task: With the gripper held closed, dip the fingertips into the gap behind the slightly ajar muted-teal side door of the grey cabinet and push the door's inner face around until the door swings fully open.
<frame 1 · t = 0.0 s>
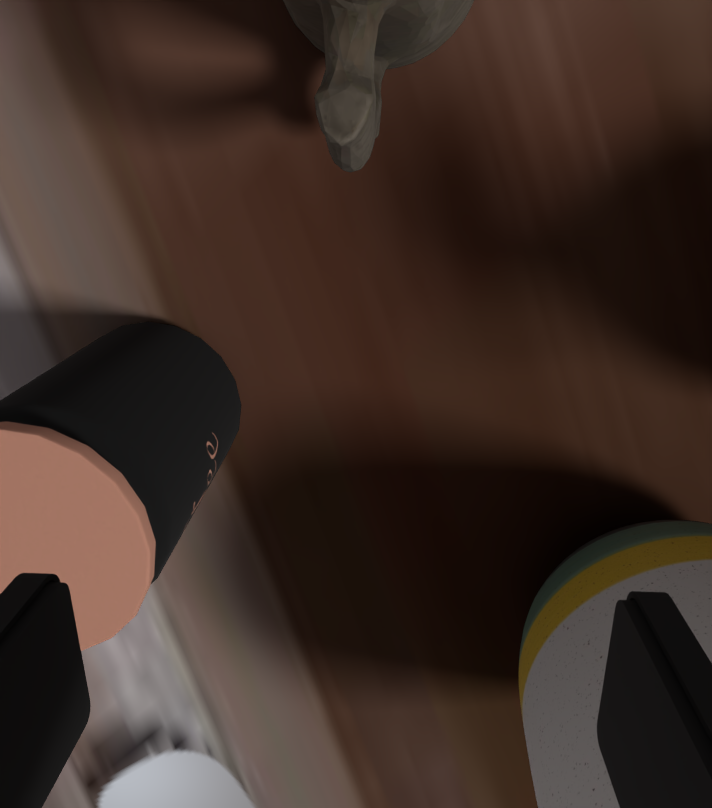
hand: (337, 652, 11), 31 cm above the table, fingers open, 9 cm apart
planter: (633, 590, 47), on the table
coffee jar: (165, 396, 44), on the table
beer stein: (382, 8, 36), on the table
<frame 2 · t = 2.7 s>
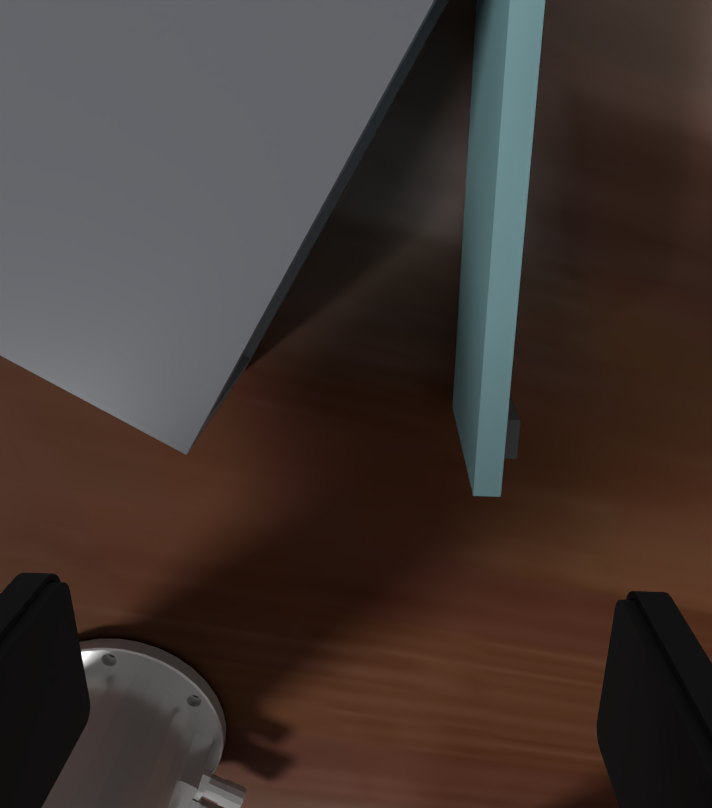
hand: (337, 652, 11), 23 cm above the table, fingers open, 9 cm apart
side door: (498, 215, 26), point 5 cm above the table, hinge at 30.0°
grey cabinet: (185, 94, 29), on the table
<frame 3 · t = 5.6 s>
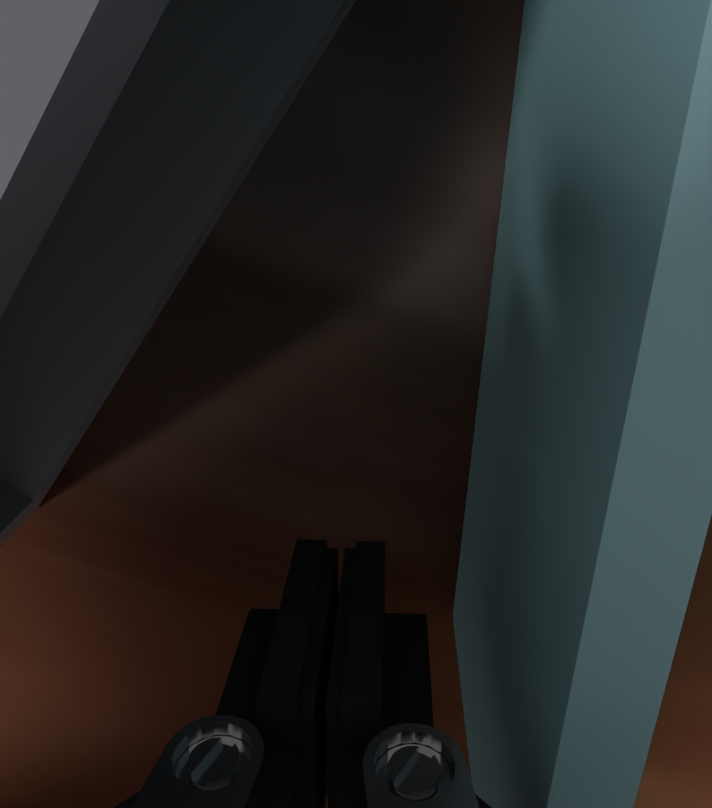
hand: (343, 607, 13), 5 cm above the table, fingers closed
side door: (588, 307, 10), point 5 cm above the table, hinge at 33.5°, touching gripper
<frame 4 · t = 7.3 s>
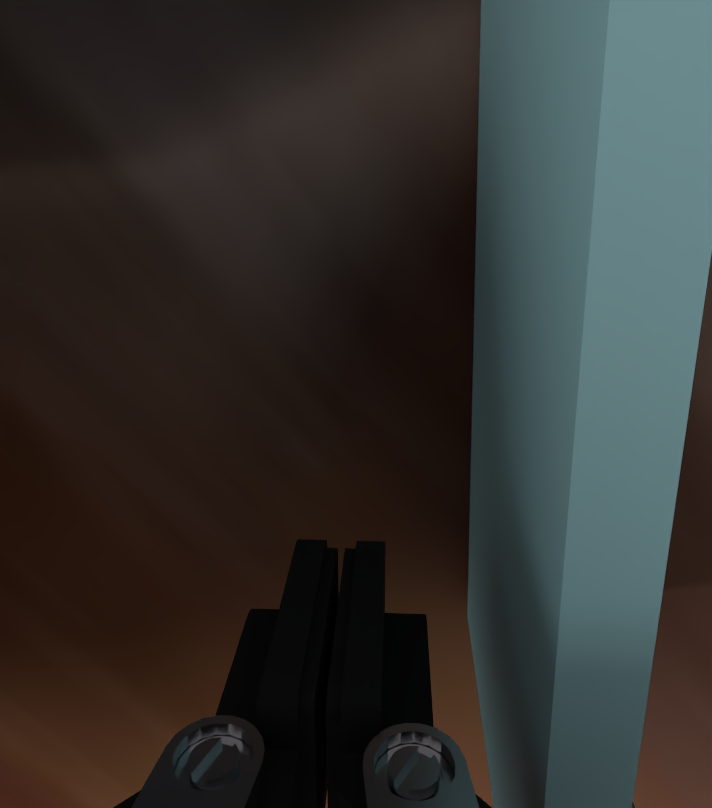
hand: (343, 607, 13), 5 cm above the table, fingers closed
side door: (561, 298, 10), point 5 cm above the table, hinge at 68.7°, touching gripper
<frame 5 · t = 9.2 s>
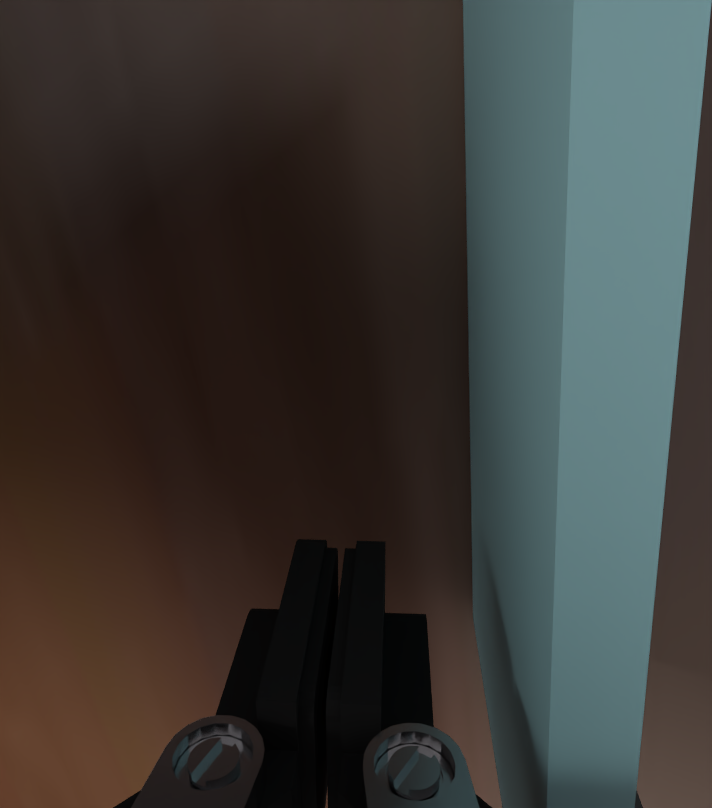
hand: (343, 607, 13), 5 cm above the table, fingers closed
side door: (550, 295, 10), point 5 cm above the table, hinge at 99.2°, touching gripper
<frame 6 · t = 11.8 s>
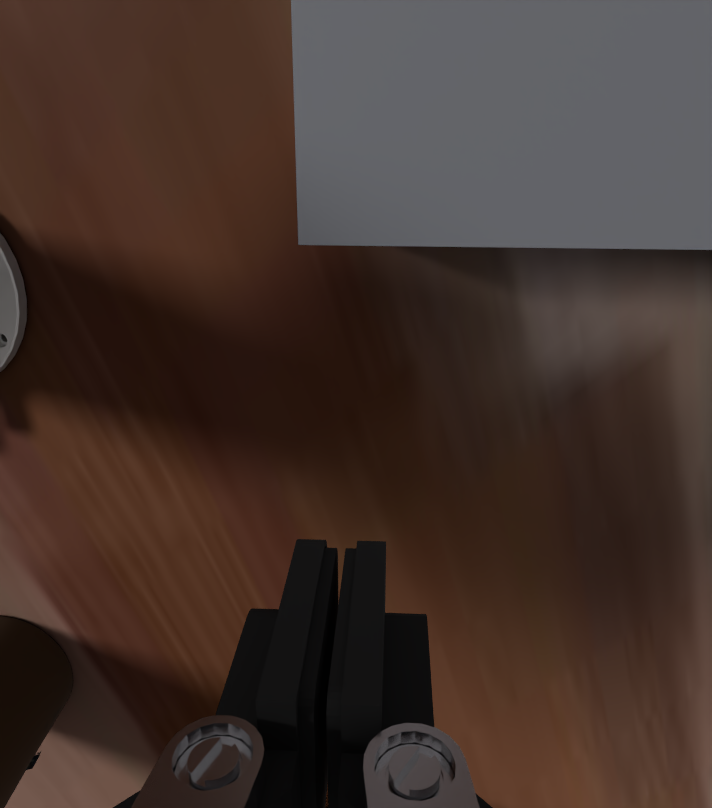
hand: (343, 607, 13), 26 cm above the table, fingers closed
grey cabinet: (535, 50, 32), on the table
olive oil: (13, 665, 50), on the table
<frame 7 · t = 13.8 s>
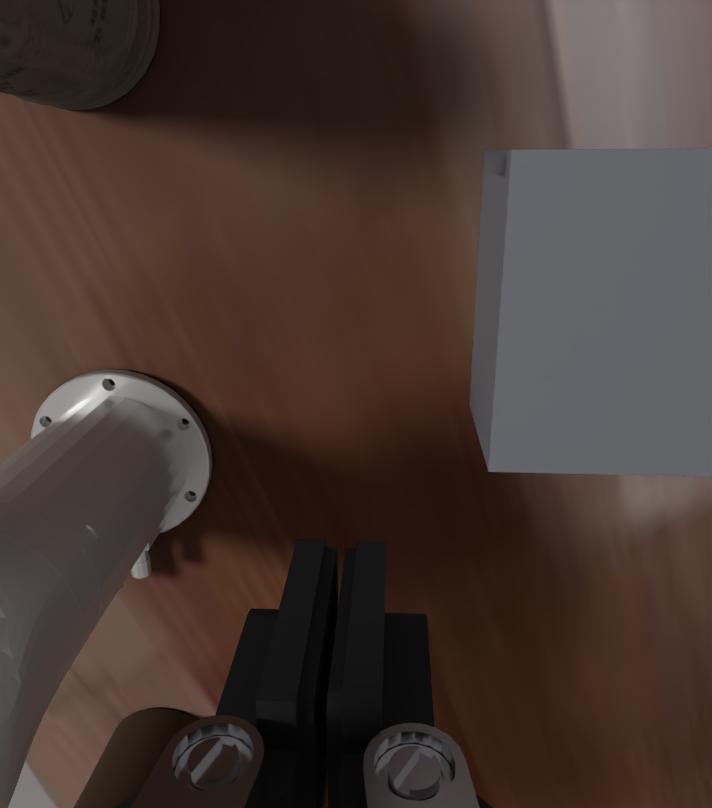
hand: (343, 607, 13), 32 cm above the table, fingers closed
grey cabinet: (638, 287, 42), on the table
olive oil: (167, 747, 58), on the table
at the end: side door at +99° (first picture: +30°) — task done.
